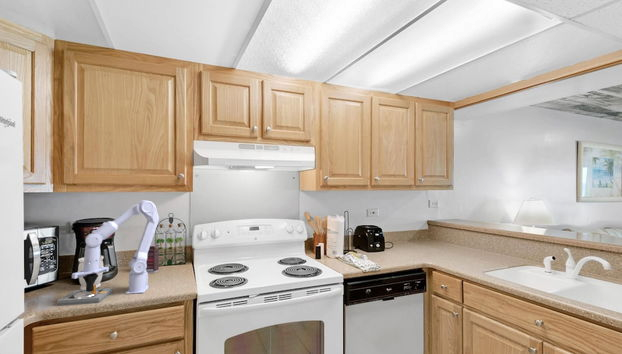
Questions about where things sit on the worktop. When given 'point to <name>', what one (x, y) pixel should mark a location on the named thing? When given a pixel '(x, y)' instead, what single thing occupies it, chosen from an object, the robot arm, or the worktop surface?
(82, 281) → the jar
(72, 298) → the dial board
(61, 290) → the worktop surface
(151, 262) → the supplement box
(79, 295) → the dial
